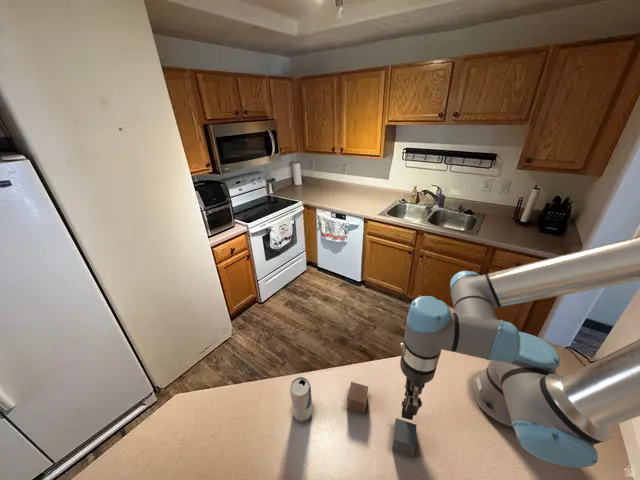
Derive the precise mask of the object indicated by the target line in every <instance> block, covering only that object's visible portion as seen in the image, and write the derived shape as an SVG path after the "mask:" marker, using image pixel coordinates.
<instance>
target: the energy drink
mask: <svg viewBox="0 0 640 480" xmlns="http://www.w3.org/2000/svg"><path fill="white" fill-rule="evenodd" d="M289 393H290V398H291V405H292V412H293V416H294V418H295V419H296V421H298V422H301V423H303V422H307V421H308V420H310V419H311V417H312V415H313V412H314V411H313V402H312V401H313V399H312V387H311V383H310V381H309V380H308V378H306V377H303V376H298V377H296V378H294V379H293V380H292V381H291V382H290V387H289Z"/></svg>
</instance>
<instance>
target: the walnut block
mask: <svg viewBox="0 0 640 480" xmlns="http://www.w3.org/2000/svg"><path fill="white" fill-rule="evenodd" d="M368 393H369V386H367V385H365V384H362V383H361V384H360V383H358V382H354V381H350V384H349V389H348V393H347V397H346V409H348V410H350V411H354V412H356V413H360V414H362V415H366V414H365V413H366V407H367V401H368Z"/></svg>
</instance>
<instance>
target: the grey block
mask: <svg viewBox="0 0 640 480" xmlns="http://www.w3.org/2000/svg"><path fill="white" fill-rule="evenodd" d="M391 442H392V443H391V450H393V451H395V452H398V453H401V454H404V455H406V456H409V457H412V458H413V457H414V455H415V451H416V448H417V424H415V423H413V422H410V421H407V420H404V419H401V418H398V417H395V420H394V424H393V432H392V441H391Z"/></svg>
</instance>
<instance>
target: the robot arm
mask: <svg viewBox="0 0 640 480" xmlns="http://www.w3.org/2000/svg"><path fill="white" fill-rule="evenodd" d="M636 282H640V235H639V236H635V237H630V238H627V239H622V240H619V241H613V242H610V243H606V244H602V245H599V246H595V247H591V248H590V247H589V248H586V249H582V250H578V251H574V252H570V253H567V254H562V255H557V256H555V257H554V256H553V257H550V258H546V259H542V260H538V261H534V262H529V263H525V264H522V265H518V266H515V267H514V266H513V267H510V268H505V269H502V270H497V271H493V272H489V273H486V274H482V275H480V274H479V273H477V272H475V271H473V270H471V271H469V270H462V271H459V272H457V273H455V274H453V276H452V277H451V279H450V282H449V283H450V284H449V286H450V290H449V292H450V297H451V301H452V305H453V310H454V311H453V312H452V311H451V309H450V307H449V305H448V304H447V303H446V302H445V301H443V300H441V299H437V298H436V297H434V296H429V295H421V296H418V297H416V298H415V299H413V300H412V302H411V303H410V305H409V309H408V314H407V315H406V324H405V329H404V330H405V331H404V337H403V342H400V344H399V346H400V348H402V351H401V355H400V361H399V364H400V365H399V366H400V367H399V368H400V370H401V372H402V374H403V375H404V376H405V384H404V389H405V392H404V397H403V400H402V401H401V407H402V408H401V418H402V419H406V420H409V421H413V419H414V416H417V414H418V412H419V410H420V408H422V406H423V402H422V398H421V397H419V396H420V395H422V392H423V390H424V388H425V386H426V384H427V383H430V382H431V381H432V380H433V379H434V377H435V375H436V371H437V367H438V364H439V361H440V356H441V353H442V350H443V351H446V352H447V351H448V352H452V353H457V354H462V355H466V356H469V357H474V358H479V359H482V360H486V361H489V363H488V365H487V367H486V368H484V369H482V370H481V371H479V372H478V373H477V374H476V375H475V376H474V378H473V379H472V381H471V387H470V388H471V394H472V397H473V399H474V401H475V403H476V404H477V405H478V407H479V408H480V409H481V410H482V411H483V413H485V415H487V416H488V417H489V418H490V419H491V420H493V421H495V422H496V423H497V424H500V425H501V426H505V427H506V428H510V429H514V433H515V435H516V438H517V441H518V442H519V444H520V446H521V447H522V448H523V449H524V450H525V451H526V452H528V453H529V454H530V455H532V456H534V457H536V459H537V458H538V459H539V460H542V461H545V462H547V463H550V464H554V465H557V466H560V467H561V466H562V467H567V468H568V467H569V468H588V467H592V466H594V465H596V464H597V463H598V460H599V455H598V453H599V452H598V451H597V449H596V448H595V447H594V446H595V445H598V444H600V443H603V442H607V441H609V440H610V438H611V427H612V426H616V425H618V424H621V423H624V422H627V421H629V420H632V419H635V418H637V417H640V338H638V339H637V340H635V341H633V342H631V343H629V344H627V345H625V346H622V347H621V348H618V349H617V350H615V351H612V352H611V353H610V354H607V355H605V356H603V357H602V358H599V359H597V360H595V361H593V362H592V363H589V364H588V365H585V366H583V367H582V368H580V369H577V370H576V371H574V372H572V373H570V374H568V375H565V376H562V375H560V374H557V369H558V368H559V367H560V362H561V357H560V355H559V353H558V351H557V350H556V349H555V348H554V347H553V346H552V345H551V344H550V343H548V342H547V341H545V340H544V339H542V338H540V337H538V336H536V335H534V334H531V333H527V332H523V331H519V330H518V328H517V326H515V325H514V324H513V323H512V322H508V321H505V320H503V319H498V318H497V314H496V313H495V309H498V308H502V307H506V306H511V305H517V304H522V303H529V302H533V301H538V300H544V299H550V298H555V297H560V296H566V295H571V294H576V293H583V292H589V291H593V290H599V289H604V288H608V287H609V288H610V287H614V286H621V285H625V284H631V283H636Z"/></svg>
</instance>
